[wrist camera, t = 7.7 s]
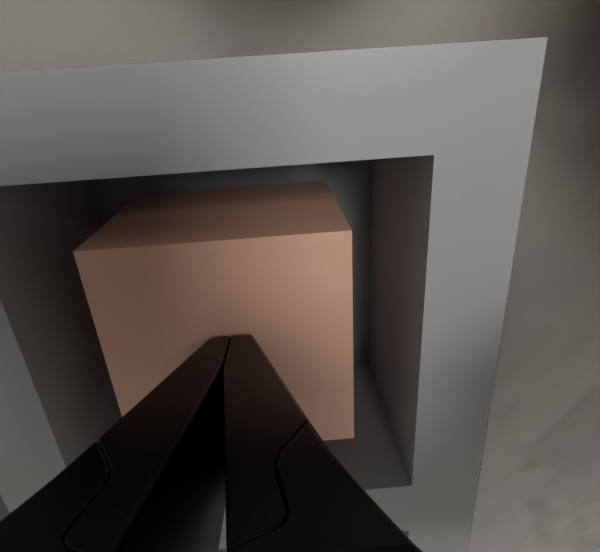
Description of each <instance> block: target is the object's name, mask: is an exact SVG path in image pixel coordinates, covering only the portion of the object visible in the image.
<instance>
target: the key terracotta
mask: <svg viewBox="0 0 600 552" xmlns="http://www.w3.org/2000/svg"><path fill="white" fill-rule="evenodd" d="M73 254H74V257H75V261H76V264H77V267H78V271H79V274H80V277H81V281H82V284H83V287H84V291H85V294H86V298H87V301H88V304H89V308H90V311H91V314H92V318H93V321H94V324H95V328H96V331H97V335H98V338H99V341H100V345H101V348H102V351H103V355H104V358H105V361H106V365H107V368H108V372H109V375H110V378H111V382H112V385H113V388H114V392H115V395H116V398H117V402H118V405H119V408H120V412H121V415H122V417H123V416H124V415H125V414H126V413H127V412H128V411H130V410H131V409H132V408H133V407H134V406H135V405H136V404H137V403H138V402H140V401H141V400H142V399H143V398H144V397H145V396H146V395H147V394H148V393H149V392H151V391H152V390H153V389H154V388H155V387H156V386H157V385H158V384H159V383H161V382H162V381H163V380H164V379H165V378H166V377H167V376H168V375H169V374H171V373H172V372H173V371H174V370H175V369H176V368H177V367H178V366H179V365H180V364H182V363H183V362H184V361H185V360H186V359H187V358H188V357H189V356H190V355H192V354H193V353H194V352H195V351H196V350H197V349H198V348H199V347H200V346H201V345H203V344H204V343H205V342H206V341H207V340H208V339H209V338H211V337H220V336H229V337H230V338H232V336H234V335H245V334H251V335H252V336H253V337H254V338H255V340H256V341H257V343H258V344H259V346H260V347H261V349H262V350H263V352H264V353H265V355H266V356H267V358H268V359H269V361H270V362H271V364H272V365H273V367H274V368H275V370H276V371H277V373H278V374H279V376H280V377H281V379H282V380H283V382H284V383H285V385H286V386H287V388H288V389H289V391H290V392H291V394H292V395H293V397H294V398H295V400H296V401H297V403H298V404H299V406H300V407H301V409H302V410H303V412H304V413H305V415H306V416H307V418H308V419H309V421H310V423H311V424H312V425H313V427H314V428H315V430H316V431H317V433H318V434H319V436H320V437H321V438H322V440H323V441H326V440H337V439H348V438H354V371H353V276H352V229H351V228H350V226H349V224H348V222H347V220H346V218H345V216H344V214H343V213H342V211H341V209H340V207H339V205H338V203H337V201H336V199H335V198H334V196H333V194H332V192H331V190H330V188H329V186H328V185H327V183H326V181H318V182H304V183H290V184H277V185H263V186H249V187H236V188H222V189H209V190H195V191H181V192H168V193H154V194H140V195H137V196H136V197H135V198H134V199H133V200H132V201H131V202H129V203H128V204H127V205H126V206H125V207H124V208H123V209H121V210H120V211H119V212H118V213H117V214H116V215H115V216H113V217H112V218H111V219H110V220H109V221H108V222H106V223H105V224H104V225H103V226H102V227H101V228H100V229H98V230H97V231H96V232H95V233H94V234H93V235H92V236H90V237H89V238H88V239H87V240H86V241H85V242H84V243H82V244H81V245H80V246H79V247H78V248H77V249H76V250H74V251H73Z"/></svg>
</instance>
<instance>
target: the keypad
mask: <svg viewBox="0 0 600 552" xmlns="http://www.w3.org/2000/svg"><path fill="white" fill-rule="evenodd" d="M547 40H548V37H540V38H524V39H509V40H493V41H478V42H462V43H446V44H431V45H415V46H400V47H384V48H368V49H353V50H337V51H322V52H306V53H291V54H275V55H259V56H244V57H228V58H213V59H197V60H181V61H166V62H150V63H135V64H119V65H103V66H88V67H72V68H57V69H41V70H26V71H10V72H0V521H1V520H2V519H3V518H4V517H6V516H7V515H8V514H10V513H11V512H12V511H13V510H15V509H16V508H17V507H18V506H20V505H21V504H22V503H23V502H25V501H26V500H27V499H28V498H30V497H31V496H32V495H33V494H35V493H36V492H37V491H38V490H40V489H41V488H42V487H43V486H45V485H46V484H47V483H48V482H50V481H51V480H52V479H53V478H54V477H55V476H57V475H58V474H59V473H60V472H61V471H62V470H64V469H65V468H66V467H67V466H68V465H69V464H70V463H72V462H73V461H74V460H75V459H76V458H77V457H78V456H80V455H81V454H82V453H83V452H84V451H85V450H86V449H87V448H88V447H90V446H91V445H92V444H93V443H94V442H98V439H99V438H100V437H101V436H102V435H103V434H104V433H105V432H106V431H107V430H109V429H110V428H111V427H112V426H113V425H114V424H115V423H116V422H117V421H119V420H120V419H121V418H122V415H121V412H120V408H119V405H118V402H117V398H116V395H115V392H114V388H113V385H112V382H111V378H110V375H109V372H108V368H107V365H106V361H105V358H104V355H103V351H102V348H101V345H100V341H99V338H98V335H97V331H96V328H95V324H94V321H93V318H92V314H91V311H90V308H89V304H88V301H87V298H86V294H85V291H84V287H83V284H82V281H81V277H80V274H79V271H78V267H77V264H76V261H75V257H74V254H73V251H74V250H76V249H77V248H78V247H79V246H80V245H81V244H82V243H84V242H85V241H86V240H87V239H88V238H89V237H90V236H92V235H93V234H94V233H95V232H96V231H97V230H98V229H100V228H101V227H102V226H103V225H104V224H105V223H106V222H108V221H109V220H110V219H111V218H112V217H113V216H115V215H116V214H117V213H118V212H119V211H120V210H121V209H123V208H124V207H125V206H126V205H127V204H128V203H129V202H131V201H132V200H133V199H134V198H135V197H136V196H137V195H140V194H154V193H168V192H181V191H195V190H209V189H222V188H236V187H249V186H263V185H277V184H290V183H304V182H318V181H326V183H327V185H328V186H329V188H330V190H331V192H332V194H333V196H334V198H335V199H336V201H337V203H338V205H339V207H340V209H341V211H342V213H343V214H344V216H345V218H346V220H347V222H348V224H349V226H350V228H351V229H352V276H353V371H354V438H348V439H337V440H326V441H324V443H325V444H326V445H327V447H328V448H329V449H330V451H331V452H332V454H333V455H334V456H335V457H336V459H337V460H338V461H339V462H340V463H341V464H342V466H343V467H344V468H345V469H346V470H347V471H348V473H349V474H350V475H351V476H352V477H353V478H354V479H355V480H356V482H357V483H358V484H359V485H360V486H361V487H362V488H363V489H364V490H365V491H366V492H367V494H368V495H369V496H370V497H371V498H372V499H373V500H374V501H375V502H376V503H377V504H378V505H379V507H380V508H381V509H382V510H383V511H384V512H385V513H386V514H387V515H388V516H389V517H390V518H391V520H392V521H393V522H394V523H395V524H396V525H397V526H398V527H399V528H400V529H401V530H402V532H403V533H404V534H405V535H406V536H407V537H408V538H409V539H410V540H411V541H412V542H413V543H414V544H415V545H416V546H417V547H418V548H419V549H421V550H422V551H423V552H468V546H469V540H470V533H471V527H472V520H473V514H474V508H475V501H476V495H477V488H478V482H479V475H480V469H481V463H482V456H483V450H484V443H485V437H486V431H487V424H488V418H489V411H490V405H491V399H492V392H493V386H494V379H495V373H496V367H497V360H498V354H499V347H500V341H501V334H502V328H503V322H504V315H505V309H506V302H507V296H508V290H509V283H510V277H511V270H512V264H513V258H514V251H515V245H516V238H517V232H518V225H519V219H520V213H521V206H522V200H523V193H524V187H525V181H526V174H527V168H528V161H529V155H530V149H531V142H532V136H533V129H534V123H535V116H536V110H537V104H538V97H539V91H540V84H541V78H542V72H543V65H544V59H545V52H546V46H547ZM219 549H226V506H225V512H224V518H223V524H222V530H221V537H220V543H219Z"/></svg>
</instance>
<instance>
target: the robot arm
mask: <svg viewBox="0 0 600 552" xmlns="http://www.w3.org/2000/svg"><path fill="white" fill-rule="evenodd" d="M225 506H226V551H227V552H423V551H422V550H421V549H419V548H418V547H417V546H416V545H415V544H414V543H413V542H412V541H411V540H410V539H409V538H408V537H407V536H406V535H405V534H404V533H403V532H402V530H401V529H400V528H399V527H398V526H397V525H396V524H395V523H394V522H393V521H392V520H391V518H390V517H389V516H388V515H387V514H386V513H385V512H384V511H383V510H382V509H381V508H380V507H379V505H378V504H377V503H376V502H375V501H374V500H373V499H372V498H371V497H370V496H369V495H368V494H367V492H366V491H365V490H364V489H363V488H362V487H361V486H360V485H359V484H358V483H357V482H356V480H355V479H354V478H353V477H352V476H351V475H350V474H349V473H348V471H347V470H346V469H345V468H344V467H343V466H342V464H341V463H340V462H339V461H338V460H337V459H336V457H335V456H334V455H333V454H332V452H331V451H330V449H329V448H328V447H327V445H326V444H325V443H324V441H323V440H322V438H321V437H320V436H319V434H318V433H317V431H316V430H315V428H314V427H313V425H312V424H311V423H310V421H309V419H308V418H307V416H306V415H305V413H304V412H303V410H302V409H301V407H300V406H299V404H298V403H297V401H296V400H295V398H294V397H293V395H292V394H291V392H290V391H289V389H288V388H287V386H286V385H285V383H284V382H283V380H282V379H281V377H280V376H279V374H278V373H277V371H276V370H275V368H274V367H273V365H272V364H271V362H270V361H269V359H268V358H267V356H266V355H265V353H264V352H263V350H262V349H261V347H260V346H259V344H258V343H257V341H256V340H255V338H254V337H253V336H252V335H251V334H245V335H234V336H232V338H230V337H229V336H220V337H211V338H209V339H208V340H207V341H206V342H205V343H204V344H203V345H201V346H200V347H199V348H198V349H197V350H196V351H195V352H194V353H193V354H192V355H190V356H189V357H188V358H187V359H186V360H185V361H184V362H183V363H182V364H180V365H179V366H178V367H177V368H176V369H175V370H174V371H173V372H172V373H171V374H169V375H168V376H167V377H166V378H165V379H164V380H163V381H162V382H161V383H159V384H158V385H157V386H156V387H155V388H154V389H153V390H152V391H151V392H149V393H148V394H147V395H146V396H145V397H144V398H143V399H142V400H141V401H140V402H138V403H137V404H136V405H135V406H134V407H133V408H132V409H131V410H130V411H128V412H127V413H126V414H125V415H124V416H123V417H122V418H121V419H120V420H119V421H117V422H116V423H115V424H114V425H113V426H112V427H111V428H110V429H109V430H107V431H106V432H105V433H104V434H103V435H102V436H101V437H100V438H99V439H98V442H94V443H93V444H92V445H91V446H90V447H88V448H87V449H86V450H85V451H84V452H83V453H82V454H81V455H80V456H78V457H77V458H76V459H75V460H74V461H73V462H72V463H70V464H69V465H68V466H67V467H66V468H65V469H64V470H62V471H61V472H60V473H59V474H58V475H57V476H55V477H54V478H53V479H52V480H51V481H50V482H48V483H47V484H46V485H45V486H43V487H42V488H41V489H40V490H38V491H37V492H36V493H35V494H33V495H32V496H31V497H30V498H28V499H27V500H26V501H25V502H23V503H22V504H21V505H20V506H18V507H17V508H16V509H15V510H13V511H12V512H11V513H10V514H8V515H7V516H6V517H4V518H3V519H2V520H1V521H0V552H218V549H219V543H220V537H221V530H222V524H223V518H224V512H225Z"/></svg>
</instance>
